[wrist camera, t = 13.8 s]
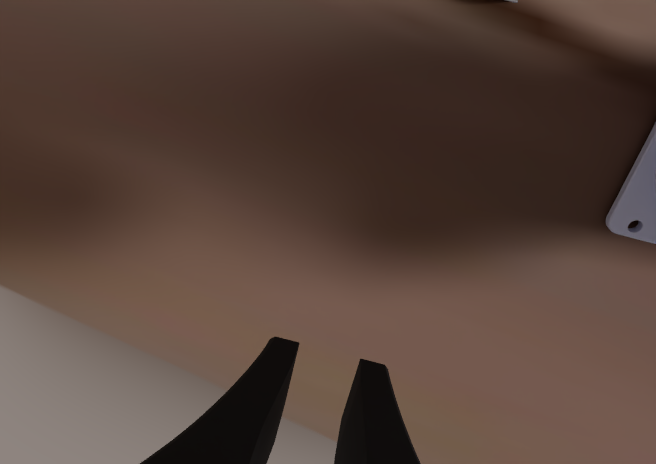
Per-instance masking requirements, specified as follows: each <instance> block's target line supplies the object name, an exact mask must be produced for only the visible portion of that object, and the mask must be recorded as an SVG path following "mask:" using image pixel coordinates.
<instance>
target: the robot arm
mask: <svg viewBox="0 0 656 464" xmlns="http://www.w3.org/2000/svg"><path fill="white" fill-rule="evenodd" d="M634 220H639V222H638V225H637V226H636V227H634V228H628V225H629V224H630V223H631V222H632V221H634ZM606 226H607V227H608V228H609V229H610V230H611V232H613V233H615V234H618V235H622V236H626V237H630V238H634V239H638V240H642V241H646V242H650V243H654V244H656V123H655V125H654V127H653V129H652V131H651V132H650V134H649V136H648V138H647V140H646V142H645V144H644V146H643V148H642V150H641V152H640V154H639V155H638V157H637V159H636V161H635V163H634V165H633V167H632V169H631V171H630V173H629V175H628V177H627V178H626V180H625V182H624V184H623V186H622V188H621V190H620V192H619V194H618V196H617V198H616V200H615V201H614V203H613V205H612V207H611V209H610V211H609V213H608V215H607V217H606ZM298 347H299V343H298V342H294V341H291V340H287V339H283V338H279V337H273V338H271V339H270V340H269V342H268V343H267V345H266V347H265V348H264V349H263V351H262V352H261V354H260V355H259V356H258V357H257V359H256V360H255V361H254V362H253V364H252V365H251V366H250V367H249V368H248V370H247V371H246V372H245V373H244V374H243V375H242V376H241V377H240V378H239V379H238V381H237V382H236V383H235V384H234V385H233V386H232V387H231V388H230V389H229V390H228V391H227V392H226V393H225V394H224V395H223V396H222V397H221V398H220V399H219V400H218V401H217V402H216V403H215V404H214V405H213V406H212V407H211V408H210V409H208V410H207V411H206V412H205V413H204V414H203V415H202V416H201V417H200V418H199V419H197V420H196V421H195V422H194V423H193V424H192V425H190V426H189V427H188V428H187V429H186V430H184V431H183V432H182V433H181V434H179V435H178V436H177V437H176V438H175V439H173V440H172V441H170V442H169V443H168V444H166V445H165V446H164V447H162V448H161V449H160V450H158V451H157V452H155V453H154V454H153V455H151V456H150V457H149V458H147V459H146V460H144V461H143V462H142V463H140V464H266V463H267V460H268V458H269V455H270V453H271V450H272V447H273V445H274V442H275V438H276V434H277V430H278V427H279V423H280V420H281V416H282V412H283V409H284V405H285V401H286V397H287V393H288V389H289V384H290V380H291V376H292V372H293V368H294V363H295V359H296V355H297V351H298ZM334 464H420V461H419V459H418V457H417V455H416V452H415V450H414V447H413V445H412V443H411V440H410V437H409V435H408V432H407V429H406V427H405V424H404V422H403V419H402V416H401V413H400V410H399V407H398V404H397V401H396V398H395V395H394V391H393V388H392V384H391V380H390V377H389V372H388V369H387V367H386V366H385V365H383V364H379V363H376V362H372V361H368V360H364V359H360V362H359V365H358V368H357V371H356V374H355V378H354V381H353V384H352V387H351V390H350V393H349V397H348V400H347V403H346V406H345V409H344V413H343V416H342V419H341V425H340V431H339V436H338V442H337V448H336V454H335V461H334Z"/></svg>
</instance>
